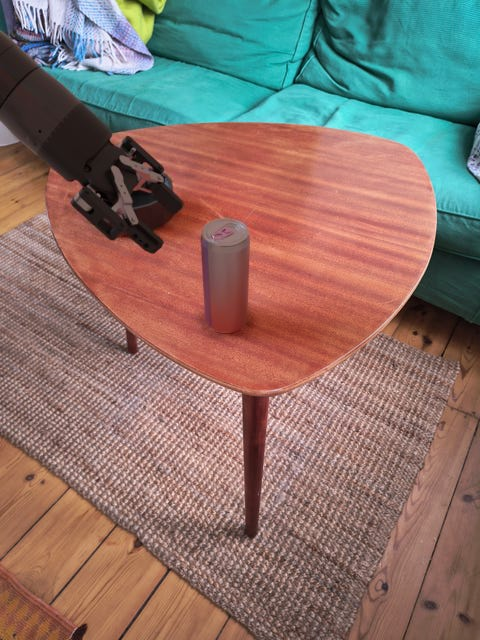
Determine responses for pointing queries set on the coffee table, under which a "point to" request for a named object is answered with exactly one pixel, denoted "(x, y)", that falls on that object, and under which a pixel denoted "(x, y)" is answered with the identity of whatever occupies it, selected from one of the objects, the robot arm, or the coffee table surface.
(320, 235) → the coffee table surface
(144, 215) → the dark round dish
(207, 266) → the beverage can
